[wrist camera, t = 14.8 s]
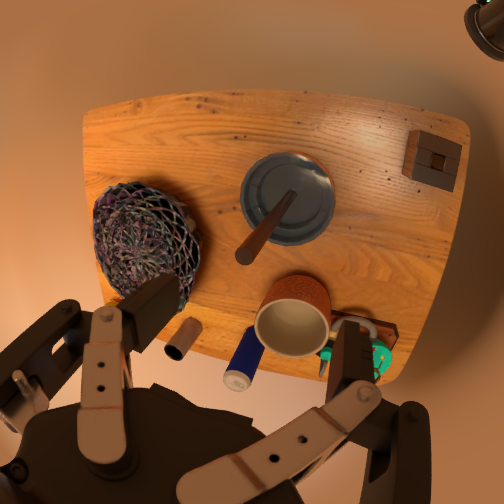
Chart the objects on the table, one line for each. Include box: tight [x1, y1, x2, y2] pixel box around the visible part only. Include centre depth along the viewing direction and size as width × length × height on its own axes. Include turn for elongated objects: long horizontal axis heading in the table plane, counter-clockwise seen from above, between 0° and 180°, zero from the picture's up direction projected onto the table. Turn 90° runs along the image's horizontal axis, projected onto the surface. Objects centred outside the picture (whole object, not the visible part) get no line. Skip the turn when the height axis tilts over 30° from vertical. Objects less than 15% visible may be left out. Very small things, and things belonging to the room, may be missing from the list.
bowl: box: [240, 151, 335, 246], centre depth 44 cm, size 14×14×6 cm
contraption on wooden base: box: [315, 310, 399, 383], centre depth 47 cm, size 14×18×15 cm
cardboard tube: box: [164, 318, 202, 361], centre depth 60 cm, size 4×4×10 cm
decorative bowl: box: [93, 181, 204, 315], centre depth 54 cm, size 26×28×10 cm
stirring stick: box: [235, 190, 297, 265], centre depth 35 cm, size 2×2×26 cm
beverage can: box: [223, 326, 265, 392], centre depth 54 cm, size 5×5×15 cm
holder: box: [402, 130, 462, 192], centre depth 35 cm, size 7×7×6 cm
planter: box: [254, 275, 331, 358], centre depth 49 cm, size 12×12×11 cm
